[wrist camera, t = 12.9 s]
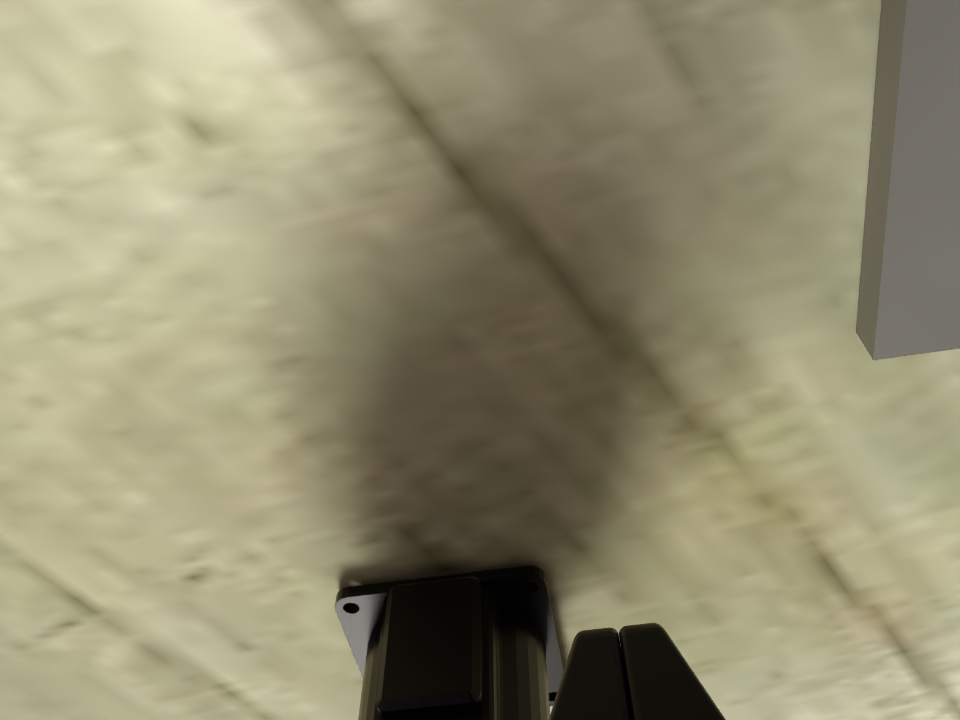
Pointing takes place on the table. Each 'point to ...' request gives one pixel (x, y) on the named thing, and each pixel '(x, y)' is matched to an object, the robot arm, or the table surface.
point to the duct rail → (913, 185)
